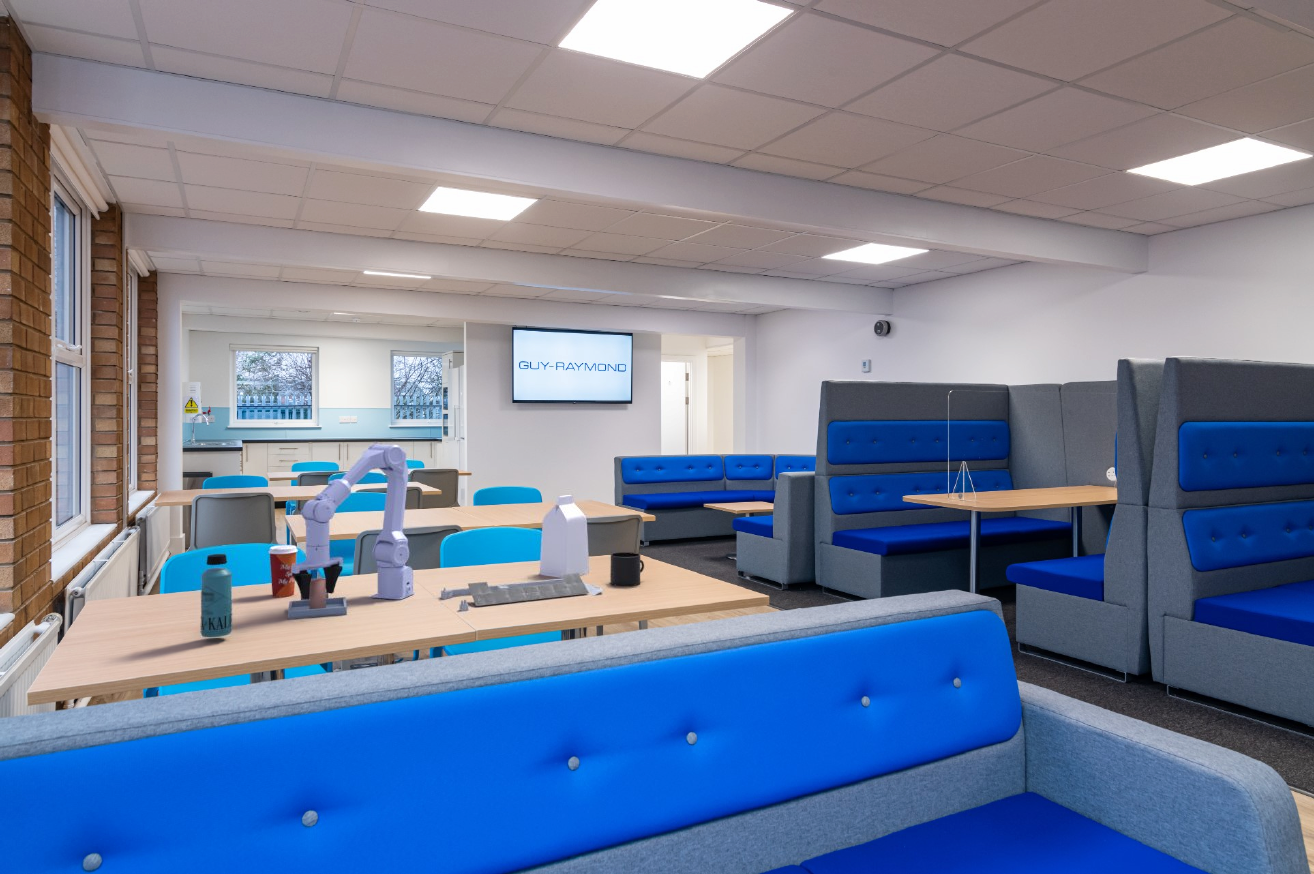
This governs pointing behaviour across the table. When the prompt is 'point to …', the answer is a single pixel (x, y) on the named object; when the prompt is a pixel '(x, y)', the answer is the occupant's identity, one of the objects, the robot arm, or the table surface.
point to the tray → (302, 609)
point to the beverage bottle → (216, 599)
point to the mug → (625, 568)
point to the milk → (564, 540)
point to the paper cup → (282, 570)
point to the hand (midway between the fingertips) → (317, 595)
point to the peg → (317, 593)
